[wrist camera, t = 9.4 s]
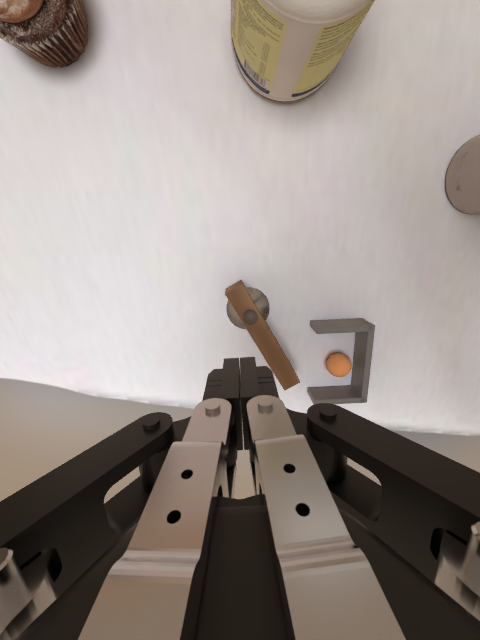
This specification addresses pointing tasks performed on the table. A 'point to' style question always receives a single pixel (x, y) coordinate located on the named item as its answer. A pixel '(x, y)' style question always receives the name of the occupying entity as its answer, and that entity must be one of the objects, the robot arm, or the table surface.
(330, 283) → the table surface
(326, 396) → the pocket
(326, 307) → the table surface
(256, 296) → the pin plate
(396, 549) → the robot arm
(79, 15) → the cupcake
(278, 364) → the lever
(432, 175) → the table surface
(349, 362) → the ball
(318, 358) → the table surface
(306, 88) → the supplement tub
